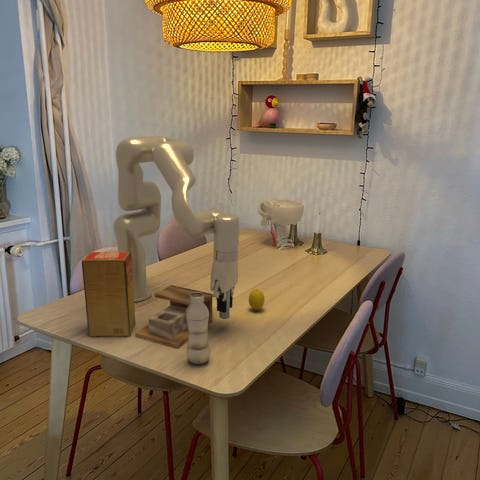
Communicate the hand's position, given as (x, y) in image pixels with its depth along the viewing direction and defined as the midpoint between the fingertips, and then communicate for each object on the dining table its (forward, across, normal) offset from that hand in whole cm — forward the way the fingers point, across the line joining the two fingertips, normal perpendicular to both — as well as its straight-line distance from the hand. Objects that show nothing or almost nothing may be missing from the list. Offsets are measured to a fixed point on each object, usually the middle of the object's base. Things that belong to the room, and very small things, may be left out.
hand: (224, 308), depth 145 cm
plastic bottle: (+7, +20, +3) cm, 22 cm away
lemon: (+7, -18, +3) cm, 20 cm away
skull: (+9, -93, -20) cm, 95 cm away
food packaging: (+8, +17, -31) cm, 36 cm away
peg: (+3, 0, 0) cm, 3 cm away
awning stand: (+8, +7, -14) cm, 17 cm away
